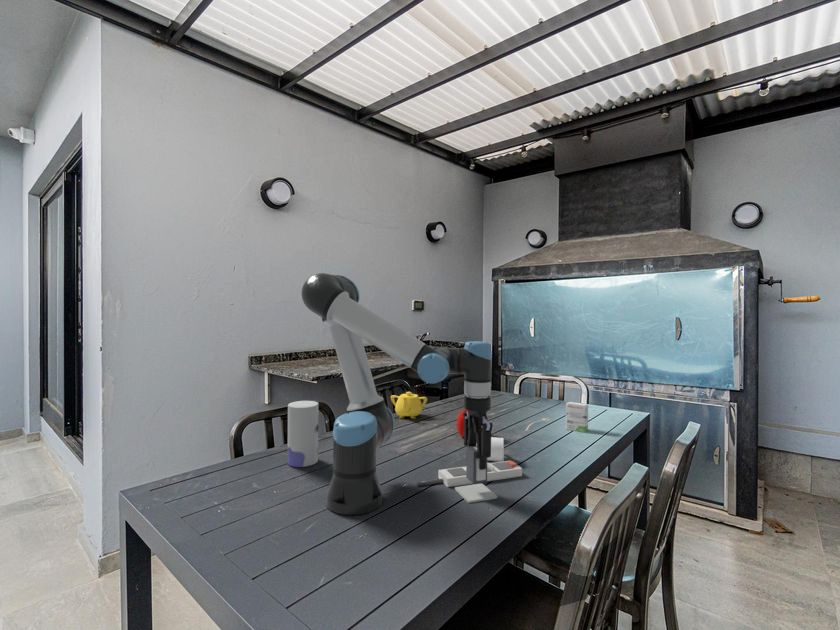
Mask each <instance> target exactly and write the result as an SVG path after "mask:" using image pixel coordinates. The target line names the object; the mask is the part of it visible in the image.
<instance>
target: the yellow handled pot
mask: <svg viewBox="0 0 840 630" xmlns="http://www.w3.org/2000/svg"><path fill="white" fill-rule="evenodd" d="M395 398H397V401H396V400H395ZM421 400H423V402H422V401H421ZM390 401H391V403H392V405H394V407H395V408H394V411H395V413H396V415H398V418H400V419H404V418H405V417H410V419H412V420H415V419H417V416H419V415H420V414H421V413H422V411H423V407H424V406H425V405H426V404H427V401H428V398H427V397H426V396H421V397H419V394H415V393H413V392H411V391H407V392H405V393H401V394H400V395H399V396H398V395H394V394H393V395H391V396H390Z"/></svg>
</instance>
